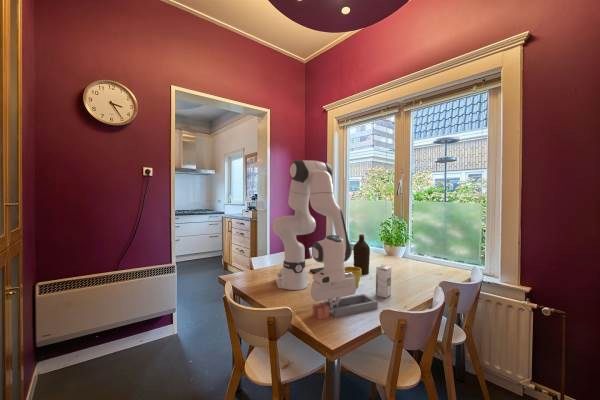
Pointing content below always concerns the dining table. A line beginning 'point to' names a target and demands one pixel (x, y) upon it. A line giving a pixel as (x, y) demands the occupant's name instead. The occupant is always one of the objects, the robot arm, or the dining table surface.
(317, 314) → the red block
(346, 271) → the plant pot
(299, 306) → the dining table surface
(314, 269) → the hardcover book
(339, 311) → the channel
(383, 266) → the syrup box
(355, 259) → the olive oil
